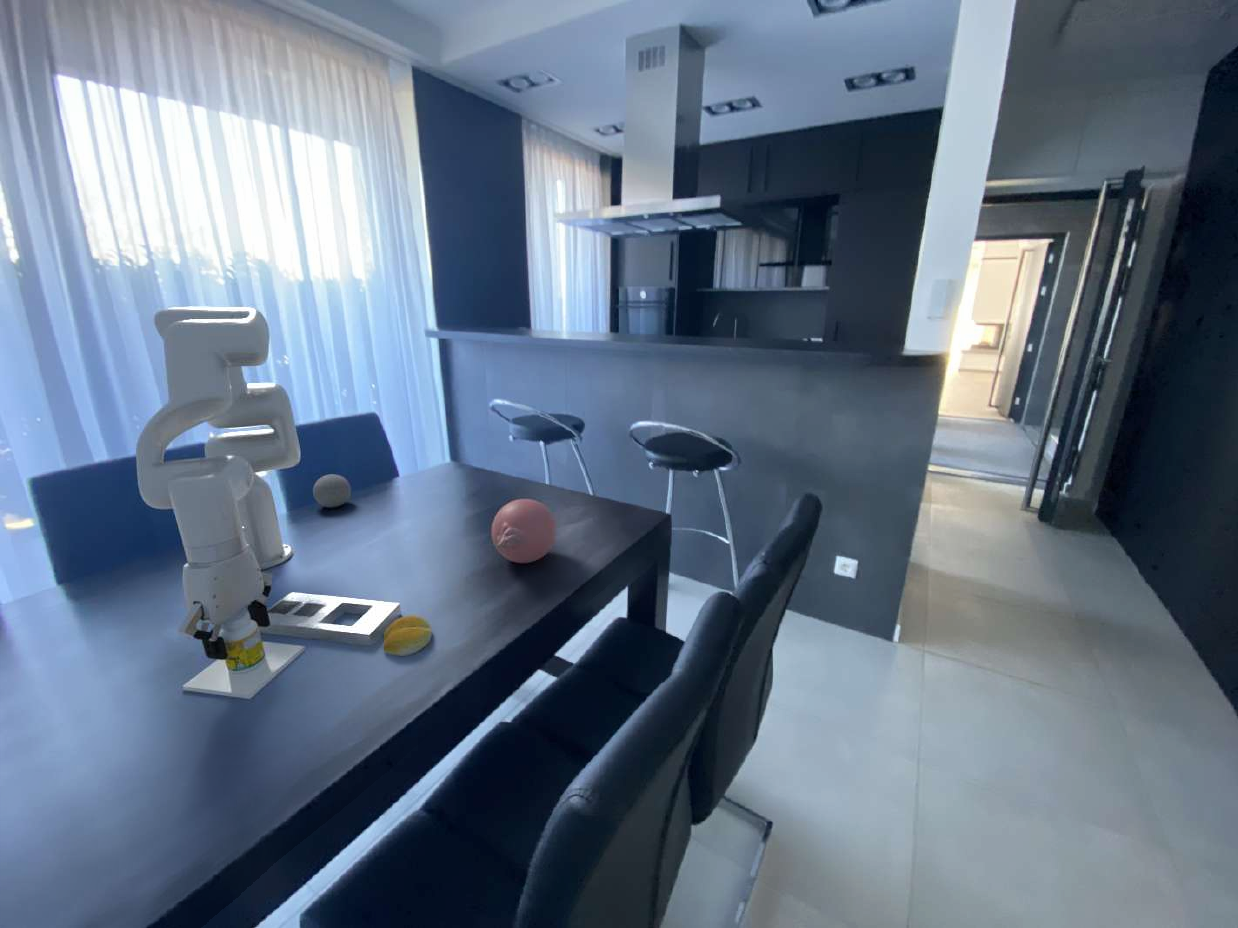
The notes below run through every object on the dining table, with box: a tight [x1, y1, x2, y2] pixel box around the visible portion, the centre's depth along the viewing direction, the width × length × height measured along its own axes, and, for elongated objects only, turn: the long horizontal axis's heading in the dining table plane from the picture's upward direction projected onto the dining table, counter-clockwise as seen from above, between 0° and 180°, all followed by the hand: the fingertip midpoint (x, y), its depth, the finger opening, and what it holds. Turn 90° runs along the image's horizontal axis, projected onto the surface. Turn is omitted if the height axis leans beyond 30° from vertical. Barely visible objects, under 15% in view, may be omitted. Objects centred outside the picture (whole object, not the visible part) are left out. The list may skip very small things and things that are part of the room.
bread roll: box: [382, 615, 433, 657], centre depth 94 cm, size 8×9×4 cm
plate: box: [182, 640, 306, 700], centre depth 87 cm, size 12×12×1 cm
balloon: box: [491, 498, 557, 564], centre depth 120 cm, size 15×20×15 cm
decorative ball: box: [312, 473, 352, 508], centre depth 153 cm, size 10×10×10 cm
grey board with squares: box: [258, 591, 402, 647], centre depth 99 cm, size 24×10×3 cm, turn 82°
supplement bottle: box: [219, 608, 266, 674], centre depth 85 cm, size 5×5×10 cm
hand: (240, 640), depth 85 cm, fingers open, 8 cm apart
